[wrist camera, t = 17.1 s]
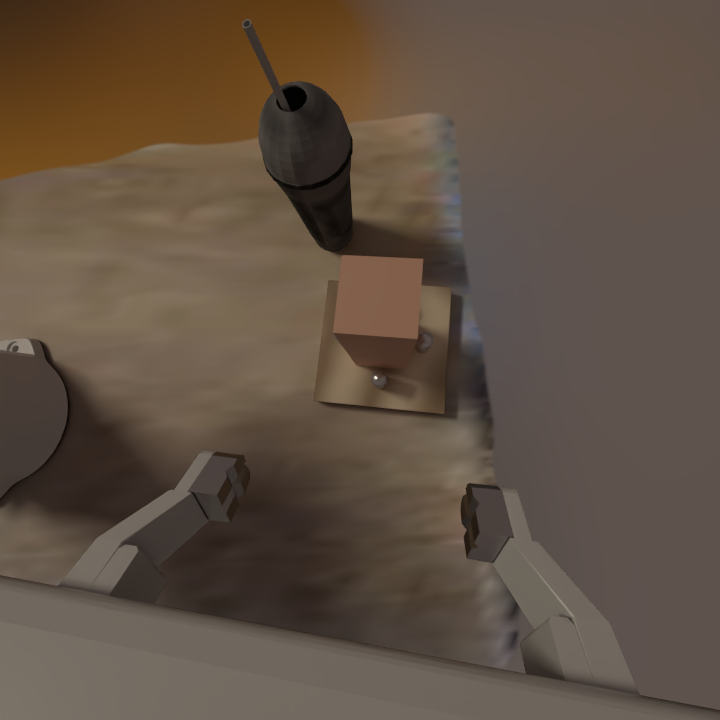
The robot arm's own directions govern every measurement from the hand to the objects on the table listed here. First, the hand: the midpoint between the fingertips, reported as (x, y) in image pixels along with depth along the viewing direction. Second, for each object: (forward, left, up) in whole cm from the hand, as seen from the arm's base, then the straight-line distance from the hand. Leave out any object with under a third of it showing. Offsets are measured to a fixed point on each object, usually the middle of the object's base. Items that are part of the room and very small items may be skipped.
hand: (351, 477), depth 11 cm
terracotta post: (0, +9, -19) cm, 21 cm away
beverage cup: (-7, +22, -20) cm, 31 cm away
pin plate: (0, +9, -20) cm, 22 cm away
